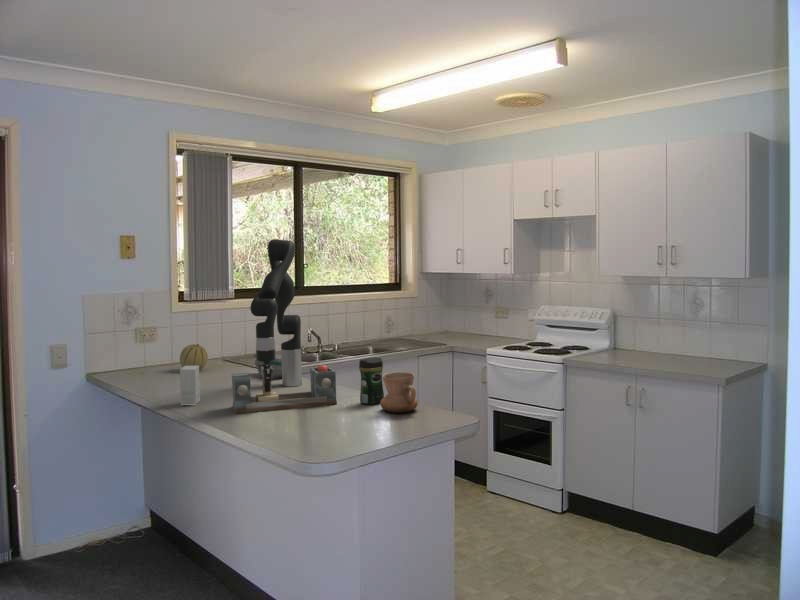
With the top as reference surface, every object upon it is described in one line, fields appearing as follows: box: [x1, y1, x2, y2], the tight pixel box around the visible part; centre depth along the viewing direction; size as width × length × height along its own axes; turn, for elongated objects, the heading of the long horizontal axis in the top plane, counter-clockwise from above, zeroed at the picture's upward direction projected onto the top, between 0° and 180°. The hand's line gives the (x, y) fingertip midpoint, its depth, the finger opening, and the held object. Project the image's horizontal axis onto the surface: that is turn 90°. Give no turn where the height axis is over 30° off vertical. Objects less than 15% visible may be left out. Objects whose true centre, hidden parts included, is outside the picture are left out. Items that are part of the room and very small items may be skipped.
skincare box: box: [179, 365, 201, 405], centre depth 265 cm, size 8×7×16 cm
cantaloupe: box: [179, 343, 209, 371], centre depth 346 cm, size 15×15×15 cm
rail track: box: [231, 366, 338, 414], centre depth 259 cm, size 14×40×14 cm, turn 109°
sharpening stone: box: [253, 353, 282, 380], centre depth 325 cm, size 25×8×11 cm, turn 41°
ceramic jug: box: [379, 371, 419, 414], centre depth 245 cm, size 18×14×14 cm
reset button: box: [317, 364, 328, 372], centre depth 264 cm, size 4×4×4 cm
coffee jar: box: [358, 357, 385, 405], centre depth 260 cm, size 10×8×19 cm
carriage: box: [255, 377, 279, 402], centre depth 257 cm, size 8×8×10 cm
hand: (267, 390), depth 257 cm, fingers closed on carriage, 3 cm apart
